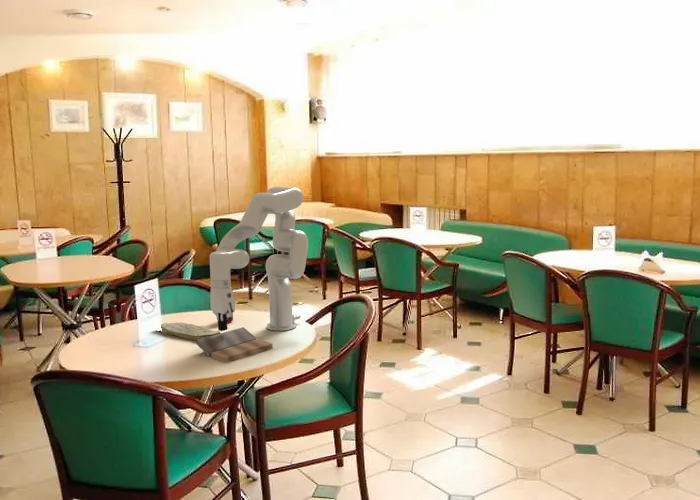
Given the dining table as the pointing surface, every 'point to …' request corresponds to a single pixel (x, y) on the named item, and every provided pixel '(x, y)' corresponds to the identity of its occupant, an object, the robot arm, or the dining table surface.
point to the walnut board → (241, 350)
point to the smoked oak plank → (224, 340)
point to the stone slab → (187, 331)
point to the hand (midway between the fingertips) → (222, 330)
